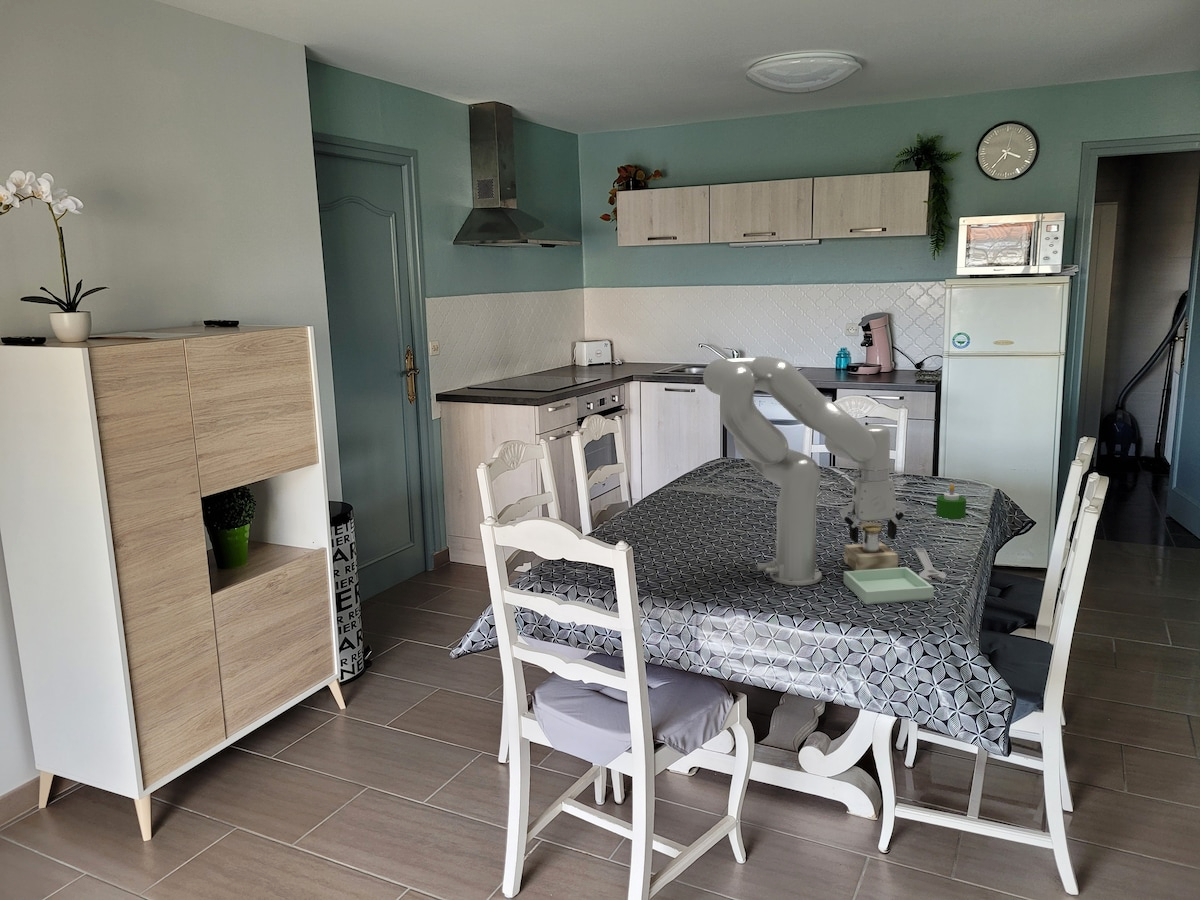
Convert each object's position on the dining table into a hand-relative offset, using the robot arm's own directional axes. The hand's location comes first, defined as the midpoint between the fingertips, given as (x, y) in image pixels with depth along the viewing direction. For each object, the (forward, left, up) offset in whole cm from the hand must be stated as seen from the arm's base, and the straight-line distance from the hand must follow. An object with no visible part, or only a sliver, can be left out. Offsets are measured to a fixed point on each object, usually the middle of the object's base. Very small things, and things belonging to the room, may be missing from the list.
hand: (873, 539), depth 224 cm
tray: (-4, -17, -7) cm, 19 cm away
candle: (+40, +38, -7) cm, 56 cm away
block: (-1, 0, -7) cm, 7 cm away
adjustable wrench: (+14, -3, -8) cm, 16 cm away
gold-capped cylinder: (-1, 0, -7) cm, 7 cm away
